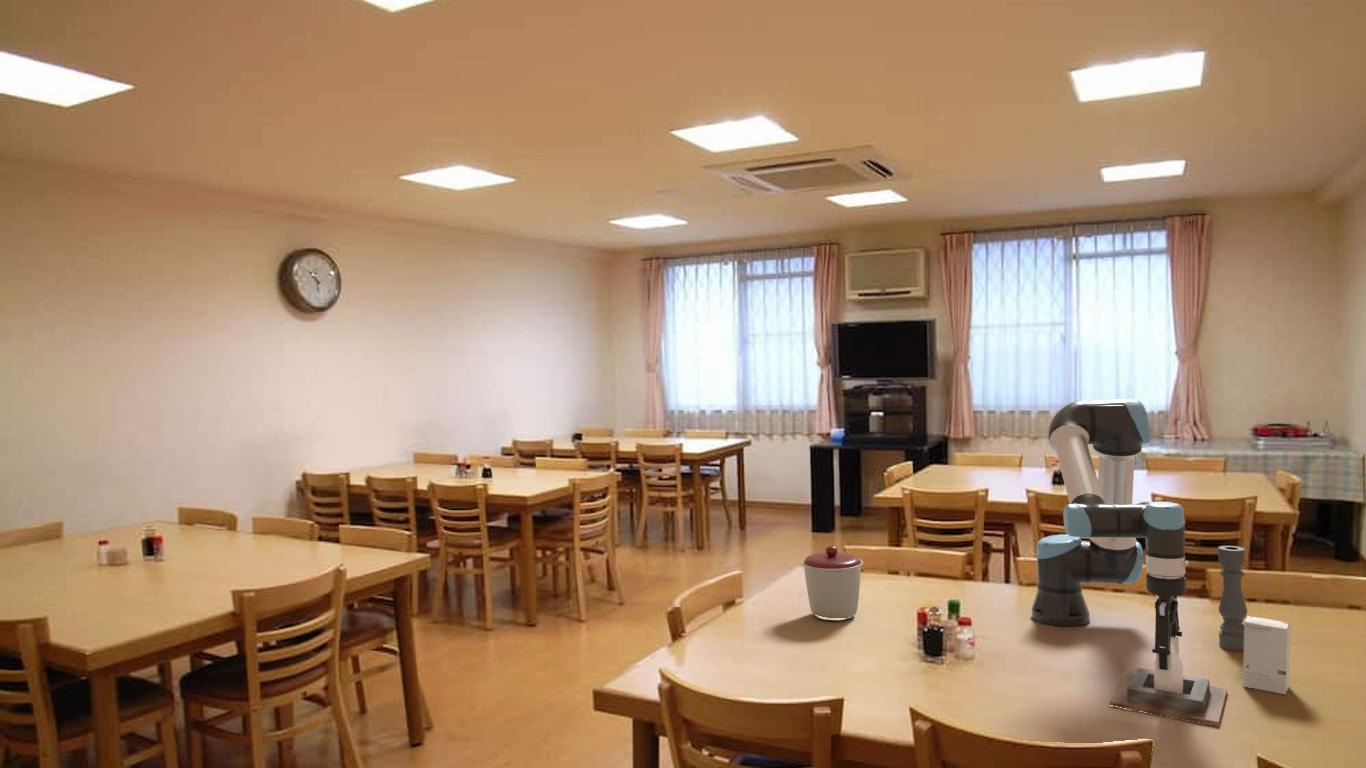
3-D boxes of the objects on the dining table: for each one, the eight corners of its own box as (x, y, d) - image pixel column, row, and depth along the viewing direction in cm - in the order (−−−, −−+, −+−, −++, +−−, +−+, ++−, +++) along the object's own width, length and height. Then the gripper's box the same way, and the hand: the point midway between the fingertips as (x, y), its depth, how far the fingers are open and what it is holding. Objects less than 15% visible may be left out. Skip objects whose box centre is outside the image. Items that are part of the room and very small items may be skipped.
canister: (874, 611, 261) (871, 542, 260) (851, 629, 246) (848, 555, 245) (818, 604, 271) (815, 537, 270) (793, 621, 255) (790, 550, 255)
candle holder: (1246, 643, 220) (1243, 546, 220) (1250, 651, 215) (1248, 551, 214) (1217, 641, 223) (1215, 545, 222) (1221, 649, 217) (1218, 550, 217)
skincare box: (1242, 687, 194) (1241, 621, 193) (1246, 679, 198) (1245, 614, 198) (1288, 695, 188) (1286, 627, 188) (1291, 686, 193) (1290, 620, 192)
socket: (1109, 706, 187) (1109, 690, 186) (1126, 676, 203) (1125, 661, 203) (1218, 726, 175) (1218, 709, 175) (1226, 693, 191) (1226, 677, 191)
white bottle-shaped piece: (1153, 634, 193) (1183, 637, 190) (1155, 687, 193) (1184, 692, 190) (1152, 642, 188) (1181, 646, 185) (1153, 697, 188) (1183, 701, 185)
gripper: (1178, 590, 176) (1181, 696, 177) (1192, 564, 195) (1194, 660, 196) (1137, 585, 181) (1140, 689, 181) (1154, 560, 200) (1156, 654, 200)
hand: (1168, 674), depth 189 cm, fingers open, 11 cm apart
